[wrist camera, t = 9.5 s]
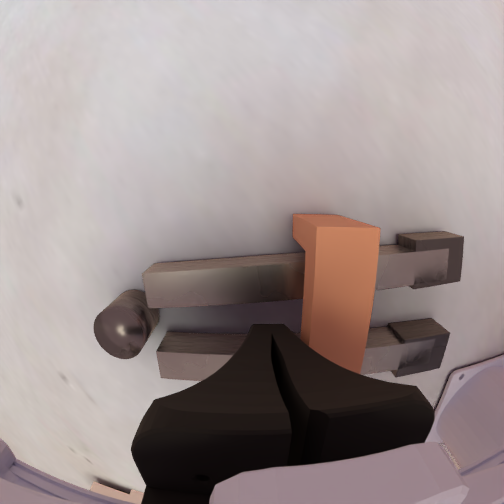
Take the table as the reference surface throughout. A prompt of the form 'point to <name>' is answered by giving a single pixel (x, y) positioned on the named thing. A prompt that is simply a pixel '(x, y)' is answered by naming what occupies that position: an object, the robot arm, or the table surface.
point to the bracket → (117, 493)
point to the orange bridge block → (337, 285)
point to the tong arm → (297, 273)
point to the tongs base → (225, 345)
